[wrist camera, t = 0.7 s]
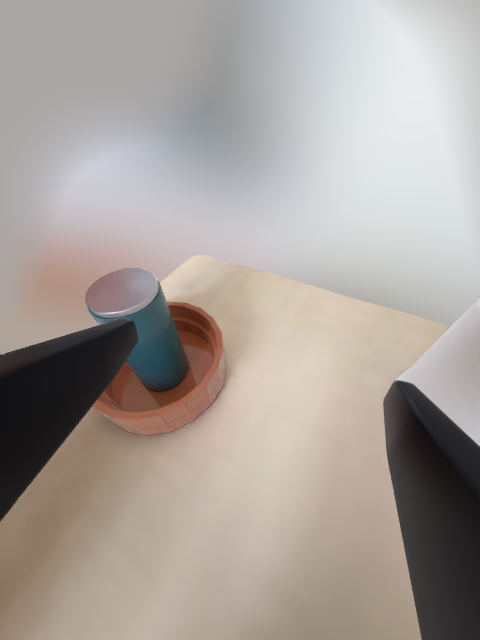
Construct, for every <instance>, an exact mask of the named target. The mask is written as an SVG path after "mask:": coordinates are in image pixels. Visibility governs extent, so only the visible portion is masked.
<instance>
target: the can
mask: <svg viewBox="0 0 480 640" xmlns="http://www.w3.org/2000/svg"><path fill="white" fill-rule="evenodd" d="M85 302H86V305H87V306H88V310H89V312H90V313H91V314H92V316H93V317H94V319H95V320H96V321H97V323H98V324H99V325H102V324H105V323H108V322H112V321H115V320H118V319H122V318H125V319H129V320H133V321H134V322H135V325H136V329H137V333H138V343H137V345H136V346H135V348H134V349H133V351H132V353H131V354H130V356H129V357H128V359H127V360H126V362H127V363H128V365H129V366H130V368H131V369H132V370H133V372H134V373H135V374H136V376H137V377H138V378H139V380H140V381H141V383H142V384H143V385H144V386H145V387H146V388H147V389H148V390H151V391H154V392H165V391H168V390H171V389H173V388H175V387H176V386H178V385H179V384H180V383H181V382H182V381H183V380H184V379H185V377H186V375H187V373H188V370H189V362H188V359H187V356H186V353H185V351H184V348H183V345H182V343H181V340H180V337H179V334H178V332H177V329H176V326H175V323H174V321H173V318H172V315H171V313H170V310H169V307H168V304H167V302H166V299H165V296H164V293H163V291H162V288H161V285H160V283H159V281H158V280H157V279H156V277H155V275H154V274H153V273H151V272H150V271H148V270H145V269H140V268H127V269H121V270H118V271H114V272H112V273H109V274H107V275H105V276H103V277H101V278H100V279H98V280H97V281H96V282H94V283H93V284H92V285H91V287H90V288H89V289H88V291H87V293H86V296H85Z"/></svg>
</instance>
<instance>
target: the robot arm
mask: <svg viewBox="0 0 480 640" xmlns="http://www.w3.org/2000/svg"><path fill="white" fill-rule="evenodd" d="M137 343H138V333H137V329H136V325H135V322H134V321H133V320H129V319H125V318H122V319H118V320H115V321H112V322H108V323H105V324H102V325H98V326H95V327H92V328H89V329H85V330H82V331H79V332H75V333H72V334H68V335H65V336H62V337H59V338H55V339H52V340H49V341H45V342H42V343H39V344H35V345H32V346H28V347H25V348H22V349H18V350H15V351H12V352H8V353H5V354H4V355H0V522H1V520H2V519H3V518H4V517H5V515H6V514H7V513H8V512H9V510H10V509H11V508H12V507H13V505H14V504H15V503H16V501H17V500H18V498H19V497H20V496H21V495H22V494H23V492H24V491H25V490H26V489H27V487H28V486H29V485H30V484H31V482H32V481H33V480H34V479H35V477H36V476H37V475H38V474H39V472H40V471H41V470H42V469H43V467H44V466H45V465H46V464H47V462H48V461H49V460H50V459H51V457H52V456H53V455H54V453H55V452H56V451H57V450H58V448H59V447H60V446H61V445H62V443H63V442H64V441H65V440H66V438H67V437H68V436H69V435H70V433H71V432H72V431H73V430H74V428H75V427H76V426H77V425H78V423H79V422H80V421H81V420H82V418H83V417H84V416H85V415H86V413H87V412H88V411H89V410H90V408H91V407H92V406H93V405H94V403H95V402H96V401H97V400H98V398H99V397H100V396H101V395H102V393H103V392H104V391H105V390H106V388H107V387H108V386H109V384H110V383H111V382H112V381H113V379H114V378H115V377H116V375H117V374H118V372H119V371H120V369H121V368H122V366H123V365H124V363H125V362H126V360H127V359H128V357H129V356H130V354H131V353H132V351H133V349H134V348H135V346H136V345H137ZM383 407H384V421H385V436H386V449H387V457H388V464H389V469H390V474H391V480H392V485H393V490H394V495H395V501H396V506H397V511H398V517H399V522H400V527H401V532H402V538H403V543H404V548H405V554H406V559H407V564H408V569H409V575H410V580H411V585H412V591H413V596H414V601H415V606H416V612H417V617H418V622H419V627H420V633H421V638H422V640H480V446H479V445H478V444H477V443H476V442H475V441H474V440H472V439H471V438H470V437H469V436H468V435H467V434H466V433H465V432H464V431H463V430H462V429H461V428H460V427H459V426H458V425H456V424H455V423H454V422H453V421H452V420H451V419H450V418H449V417H448V416H447V415H446V414H445V413H444V412H443V411H442V410H441V409H439V408H438V407H437V406H436V405H435V404H434V403H433V402H432V401H431V400H430V399H429V398H428V397H427V396H426V395H425V394H423V393H422V392H421V391H420V390H419V389H418V388H417V387H416V386H415V385H414V384H412V383H410V382H405V381H401V380H396V381H395V382H394V383H393V384H392V386H391V388H390V389H389V391H388V393H387V395H386V396H385V398H384V403H383Z"/></svg>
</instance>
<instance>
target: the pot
mask: <svg viewBox="0 0 480 640" xmlns="http://www.w3.org/2000/svg"><path fill="white" fill-rule="evenodd" d="M167 304H168V307H169V310H170V313H171V315H172V318H173V321H174V323H175V326H176V329H177V332H178V334H179V337H180V340H181V343H182V345H183V348H184V351H185V353H186V356H187V359H188V362H189V370H188V373H187V375H186V377H185V379H184V380H183V381H182V382H181V383H180V384H179V385H178V386H176V387H175V388H173V389H171V390H168V391H165V392H154V391H151V390H148V389H147V388H146V387H145V386H144V385H143V384H142V383H141V381H140V380H139V378H138V377H137V376H136V374H135V373H134V372H133V370H132V369H131V368H130V366H129V365H128V363H127V362H125V363H124V365H123V366H122V368H121V369H120V371H119V372H118V374H117V375H116V377H115V378H114V379H113V381H112V382H111V383H110V384H109V386H108V387H107V388H106V390H105V391H104V392H103V393H102V395H101V396H100V397H99V398H98V400H97V401H96V402H95V403H94V405H93V406H92V407H94V408H95V409H96V410H97V411H99V412H100V413H101V414H103V415H104V416H105V417H106V418H108V419H109V420H110V421H112V422H113V423H115V424H116V425H118V426H119V427H121V428H122V429H124V430H125V431H127V432H132V433H138V434H144V435H153V434H159V433H165V432H171V431H174V430H176V429H178V428H180V427H182V426H184V425H186V424H188V423H190V422H192V421H193V420H195V419H196V418H197V417H198V416H199V415H200V414H201V413H203V412H204V411H205V410H206V409H207V408H208V407H209V406H210V405H211V404H212V403H213V401H214V399H215V398H216V396H217V394H218V393H219V391H220V389H221V388H222V385H223V381H224V377H225V372H226V362H225V354H224V347H223V341H222V334H221V330H220V329H219V327H218V325H217V324H216V322H215V320H214V319H213V317H211V316H210V315H209V314H207V313H206V312H205V311H204V310H202V309H201V308H198V307H196V306H193V305H190V304H187V303H181V302H170V301H169V302H168V301H167Z"/></svg>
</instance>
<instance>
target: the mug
mask: <svg viewBox="0 0 480 640" xmlns="http://www.w3.org/2000/svg"><path fill="white" fill-rule="evenodd" d="M396 380H401V381H405V382H410V383H412V384H414V385H415V386H416V387H417V388H418V389H419V390H420V391H421V392H422V393H423V394H425V395H426V396H427V397H428V398H429V399H430V400H431V401H432V402H433V403H434V404H435V405H436V406H437V407H438V408H439V409H441V410H442V411H443V412H444V413H445V414H446V415H447V416H448V417H449V418H450V419H451V420H452V421H453V422H454V423H455V424H456V425H458V426H459V427H460V428H461V429H462V430H463V431H464V432H465V433H466V434H467V435H468V436H469V437H470V438H471V439H472V440H474V441H475V442H476V443H477V444H478V445H479V446H480V297H479V298H478V299H477V300H476V301H475V302H474V303H473V304H472V305H471V306H470V307H469V308H468V309H467V310H466V311H465V312H464V313H463V314H462V315H461V316H460V317H459V318H458V320H457V321H456V322H455V323H454V324H453V325H452V326H451V327H450V328H449V329H448V330H447V331H446V332H445V333H444V334H443V335H442V336H441V337H440V338H439V339H438V340H437V341H436V342H435V343H434V344H433V345H432V346H431V347H430V348H429V349H428V350H427V351H426V352H425V353H424V354H423V355H422V356H421V357H420V358H419V359H418V360H417V361H416V362H415V364H414V365H413V366H412V367H410V368H409V369H408V370H407V371H405V372H403V373H402V374H400V375H399V376H398V377H397V378H396V379H395V381H396ZM395 381H394V382H395ZM394 382H393V383H394Z"/></svg>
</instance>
